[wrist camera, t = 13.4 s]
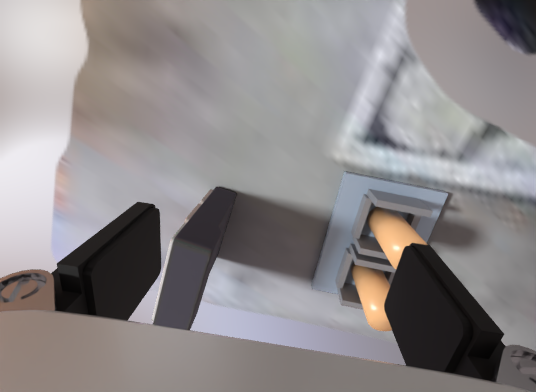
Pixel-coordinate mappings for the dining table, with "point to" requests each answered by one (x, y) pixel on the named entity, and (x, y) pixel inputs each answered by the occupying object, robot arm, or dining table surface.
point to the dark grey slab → (192, 260)
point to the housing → (369, 241)
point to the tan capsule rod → (392, 232)
